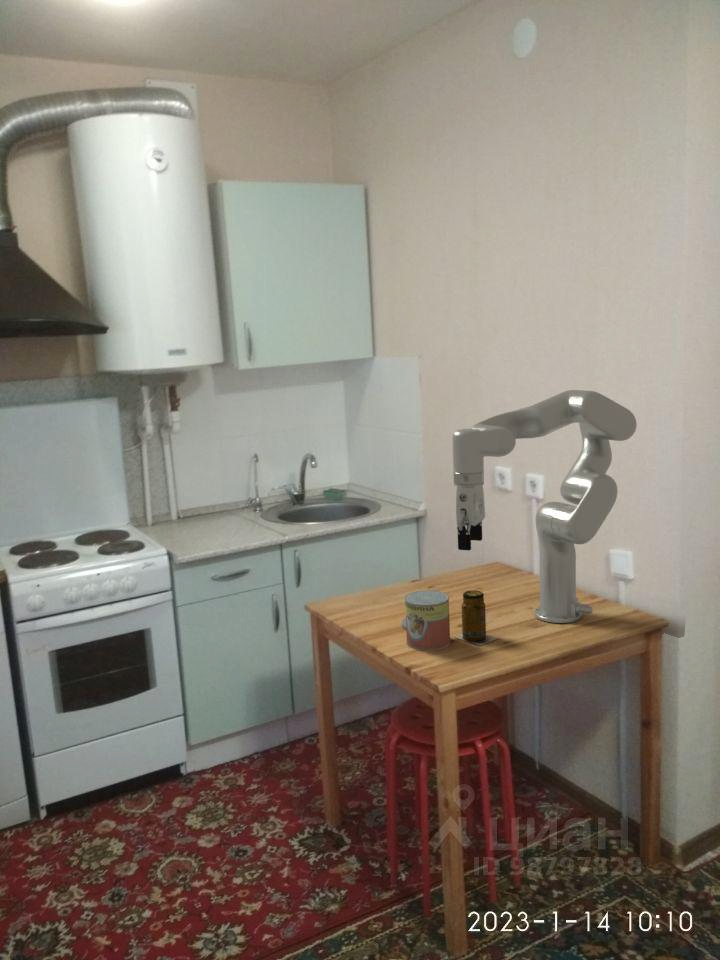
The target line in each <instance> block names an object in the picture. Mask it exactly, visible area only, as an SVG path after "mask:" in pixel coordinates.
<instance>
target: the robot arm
mask: <svg viewBox="0 0 720 960" xmlns="http://www.w3.org/2000/svg"><path fill="white" fill-rule="evenodd" d="M575 423H578V425H579V429H580V430H579V431H580V433H581V441H582V446H581V450H580V453H579V454H578V457H577V458H576V460H575V462H574V463H573V465H572V466H571V468H570V469H569V471H568V473H567V474H566V476H565V478H564V479H563V480H562V482H561V485H560V488H559V492H560V495H561V497H562V498H563V500H565V501H566V502H569V503H571V504H568V503H565V502H560V501H548V502H545V503H544V504H542V505H541V506H539V508H538V510H537V511H536V515H535V527H536V532H537V538H538V543H539V544H538V545H539V547H538V548H539V601H540V602H539V606H538V607H536V608H535V609H534V611H533V613H534V615H533V616H535V618H536V619H538V620H540V621H543V622H547V623H552V624H553V623H554V624H567V623H569V624H570V623H574V622H576V621H579V620H580V619H581V618H582V617H583V613H585V614H591V615H592V614H593V606H591V605H590V604H589V603H581V602H579V598H578V597H577V590H576V589H577V586H576V585H577V584H576V583H577V581H576V580H577V576H576V575H577V571H576V570H577V568H576V564H577V563H576V561H577V553H576V547H575V545H585V544H587V543H589V542H590V541H591V540H592V539H593V538H594V537H595V536H596V534H597V533H598V531H599V530H600V528H601V527H602V525H603V524H604V522H605V521H606V518H608V516H609V513H610V512H611V510H612V509H613V507H614V505H615V503H616V501H617V498H618V485H617V482H616V480H615V479H614V478H613V477H611V476H610V475H609V474H607V471H608V470H609V468H610V466H611V464H612V461H613V460H612V459H613V453H612V448H611V444H610V441H617V442H622V441H626V440H629V439H630V438H631V437H632V436H633V435H634V434H635V432H636V429H637V425H638V424H637V418H636V417H635V415H634V413H633V412H632V411H631V410H630V409H628V408H626V407H625V406H623V405H622V404H620V403H618V402H617V401H615V400H612V399H611V398H609V397H607V396H605V395H603V394H601V393H599V392H597V391H594V390H593V391H592V390H580V389H570V390H565V391H563V392H560V393H558V394H556V395H553V396H551V397H549V398H546V399H544V400H541V401H540V402H537V403H535V404H534V403H533V405H528V406H527V407H526V406H525V407H521V408H519V409H515V410H511V411H507V412H504V413H500V414H497V415H494V416H492V417H489V418H486V419H484V420H481V421H479V422H477V423H475V424H474V425H473V426H471V428H461V429H457V430H454V432H453V433H452V463H453V464H452V465H453V467H452V468H453V469H452V471H453V486H455V487H456V493H455V494H456V495H455V496H456V497H455V518H456V525H457V526H456V529H457V531H456V532H457V549H458V551H471V550H472V541H479V542H481V541H482V540H483V520H485V518H486V508H485V507H486V505H485V496H484V495H485V494H484V493H485V492H484V484H485V475H484V474H485V473H484V471H485V467H484V465H485V464H484V462H485V461H484V460H485V459H484V458H485V457H491V458H492V457H496V458H497V457H498V458H499V457H506V456H507V455H509V454H510V453H512V452H513V450H514V449H515V447H516V443H517V441H516V440H518V439H519V440H520V439H521V440H522V439H534V438H541V437H545V436H547V435H549V434H551V433H554V432H556V431H558V430H561V429H563V428H564V427H567V426H569V425H571V424H575ZM572 504H573V505H572ZM575 505H577V506H575Z"/></svg>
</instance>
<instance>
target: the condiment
mask: <svg viewBox="0 0 720 960" xmlns="http://www.w3.org/2000/svg"><path fill="white" fill-rule="evenodd" d="M484 595H485V594H484V593H483V591H480V590H475V589H474V590H473V589H472V590H466V591H464V592H463V594H462V603H461V627H462V630H461V632H462V633H461V634H460V635H456V636H455V637H454V638H456V639H459V640H461V641H463V642H467V643H471V644H473V645H477V646H483V645H486V644H489V643H491V642H492V641H495V640H497V639H499V638H498V637H496V636H493V635H491V634H488V633H487V628H486V627H487V623H486V621H487V620H486V619H487V617H486V603H485V599H484V598H485V597H484Z"/></svg>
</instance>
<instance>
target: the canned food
mask: <svg viewBox="0 0 720 960" xmlns="http://www.w3.org/2000/svg"><path fill="white" fill-rule="evenodd" d="M404 608H405V609H404V610H405V618H406V629H405V633H406V643H405V644H406V646H408V647H409V648H411V649H413V650H417V651H422V652H427V651H428V652H430V651H438V650H439V651H440V650H443V649H446V648H447V647H448V646H449V645H451V643H452V641H451V630H450V629H451V628H450V627H451V626H450V625H451V623H450V620H451V619H450V596H449V595H448V594H447V593H445V592H443V591H439V590H419V591H413V592H410V593H407V594H406V595H405V596H404Z"/></svg>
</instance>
